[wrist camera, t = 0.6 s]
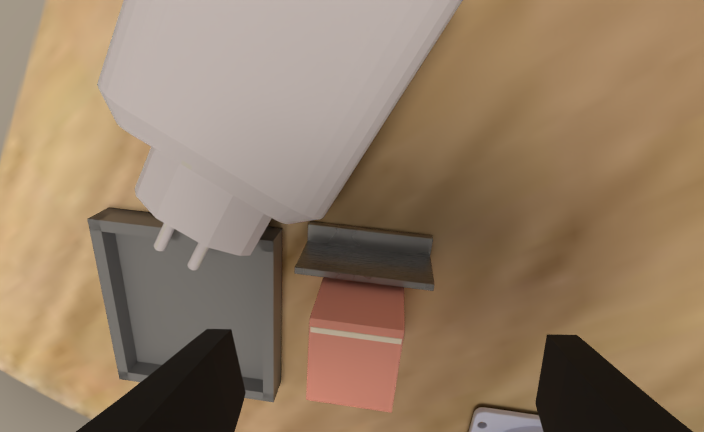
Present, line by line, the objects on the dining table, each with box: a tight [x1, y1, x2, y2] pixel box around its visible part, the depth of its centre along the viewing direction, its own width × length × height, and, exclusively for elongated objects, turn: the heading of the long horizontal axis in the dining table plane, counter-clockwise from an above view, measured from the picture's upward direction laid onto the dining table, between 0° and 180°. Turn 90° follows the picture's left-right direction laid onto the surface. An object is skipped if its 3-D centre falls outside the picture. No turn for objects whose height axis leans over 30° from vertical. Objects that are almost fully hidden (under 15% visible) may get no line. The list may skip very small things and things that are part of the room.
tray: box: [88, 208, 282, 402], centre depth 21 cm, size 10×9×2 cm
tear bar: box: [295, 221, 434, 291], centre depth 18 cm, size 1×6×3 cm, turn 86°
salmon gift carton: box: [306, 277, 405, 413], centre depth 18 cm, size 4×4×6 cm
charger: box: [97, 0, 463, 270], centre depth 15 cm, size 5×9×15 cm
